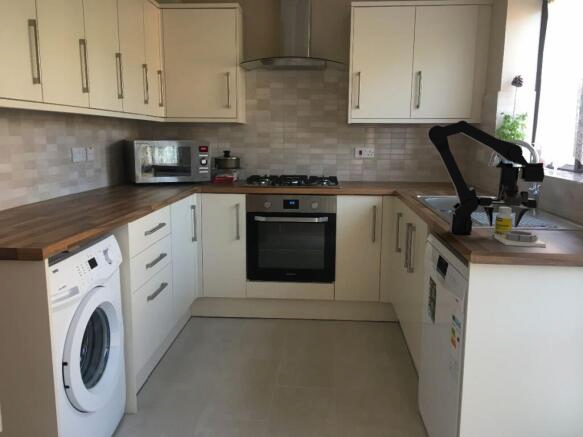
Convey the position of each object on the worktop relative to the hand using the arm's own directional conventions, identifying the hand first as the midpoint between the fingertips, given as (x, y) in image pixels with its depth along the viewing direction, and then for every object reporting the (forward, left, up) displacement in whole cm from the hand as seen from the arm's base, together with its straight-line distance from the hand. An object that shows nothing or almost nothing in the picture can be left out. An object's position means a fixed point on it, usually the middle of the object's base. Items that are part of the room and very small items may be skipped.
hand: (503, 226), depth 161 cm
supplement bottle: (0, 0, -3) cm, 3 cm away
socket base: (+2, -10, -3) cm, 11 cm away
